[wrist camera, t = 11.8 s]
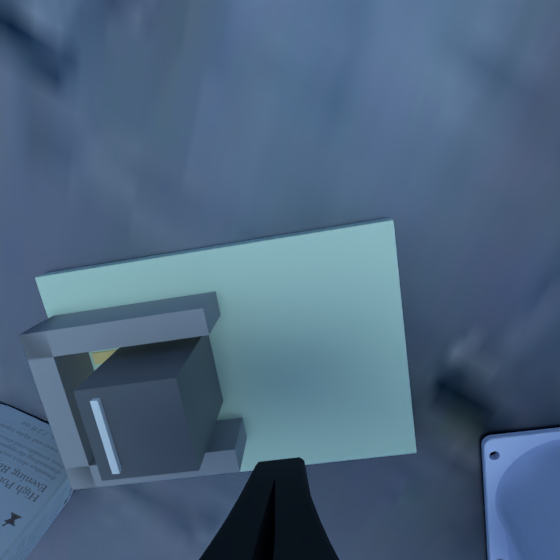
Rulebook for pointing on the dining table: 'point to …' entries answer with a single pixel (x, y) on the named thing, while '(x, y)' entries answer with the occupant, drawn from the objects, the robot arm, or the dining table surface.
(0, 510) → the skincare box
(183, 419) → the plug
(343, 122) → the dining table surface
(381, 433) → the board
